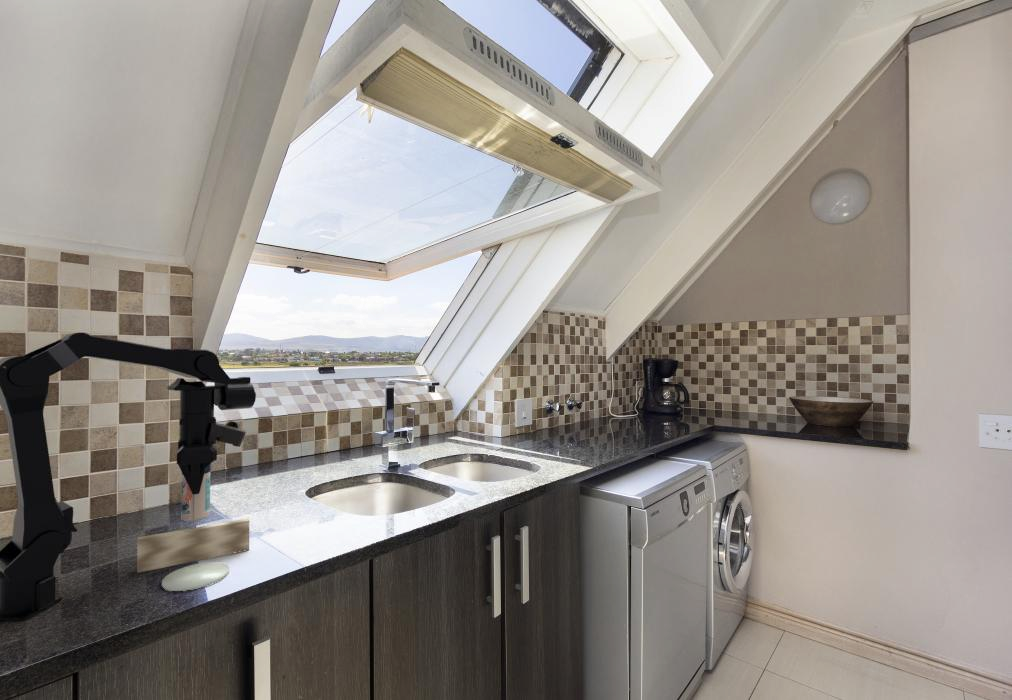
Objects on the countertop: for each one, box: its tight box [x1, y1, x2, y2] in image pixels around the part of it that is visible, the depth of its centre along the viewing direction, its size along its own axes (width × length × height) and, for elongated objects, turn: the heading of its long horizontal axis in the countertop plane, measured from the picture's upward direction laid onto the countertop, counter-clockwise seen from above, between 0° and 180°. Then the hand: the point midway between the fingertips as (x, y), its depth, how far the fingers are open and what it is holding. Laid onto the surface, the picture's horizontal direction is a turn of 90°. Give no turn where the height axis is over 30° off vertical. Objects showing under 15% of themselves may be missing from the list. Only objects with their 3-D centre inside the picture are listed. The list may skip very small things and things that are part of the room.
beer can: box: [180, 463, 212, 523], centre depth 93 cm, size 5×5×12 cm
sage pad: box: [161, 561, 230, 592], centre depth 84 cm, size 10×10×1 cm
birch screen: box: [136, 518, 250, 574], centre depth 91 cm, size 18×2×6 cm, turn 123°
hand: (195, 491), depth 93 cm, fingers closed on beer can, 5 cm apart
